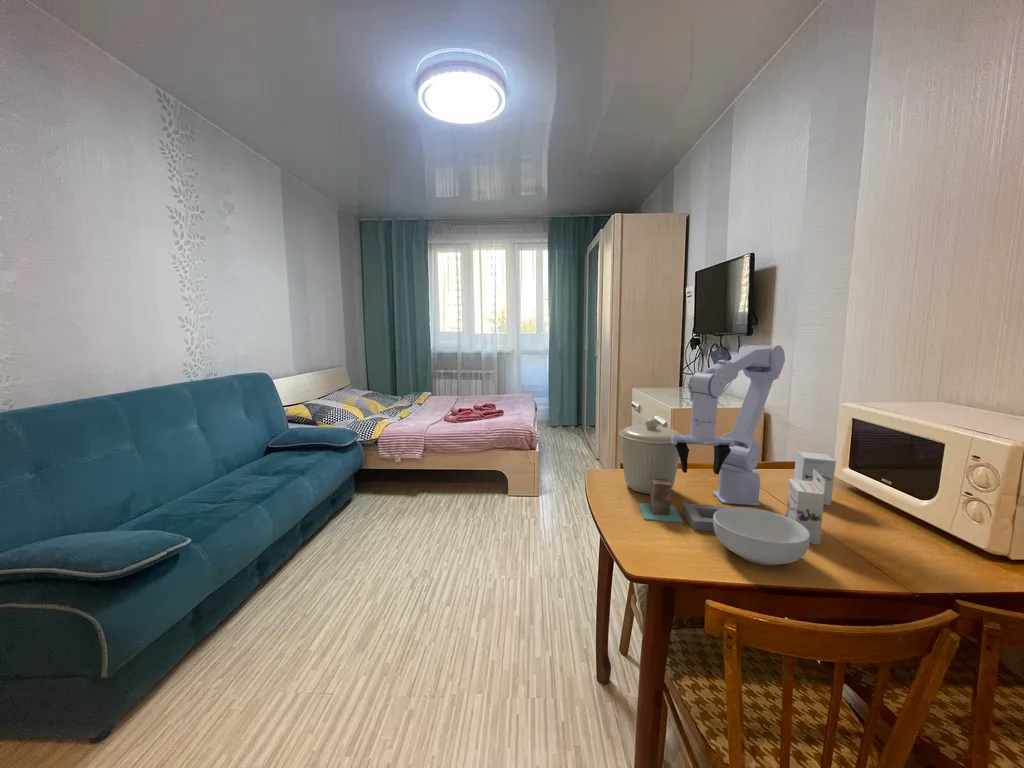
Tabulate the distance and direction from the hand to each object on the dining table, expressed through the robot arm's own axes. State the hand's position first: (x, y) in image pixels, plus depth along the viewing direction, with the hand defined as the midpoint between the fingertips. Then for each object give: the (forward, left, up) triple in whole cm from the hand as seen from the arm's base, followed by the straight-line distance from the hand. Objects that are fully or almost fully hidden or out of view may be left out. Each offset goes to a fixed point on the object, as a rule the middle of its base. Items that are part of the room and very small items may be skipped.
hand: (700, 472), depth 103 cm
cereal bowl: (-6, +20, -11) cm, 23 cm away
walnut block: (+10, +3, -10) cm, 14 cm away
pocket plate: (-1, +6, -10) cm, 12 cm away
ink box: (-20, +9, -11) cm, 24 cm away
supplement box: (-34, -14, -11) cm, 38 cm away
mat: (+10, +3, -10) cm, 15 cm away
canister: (+10, -14, -11) cm, 20 cm away
